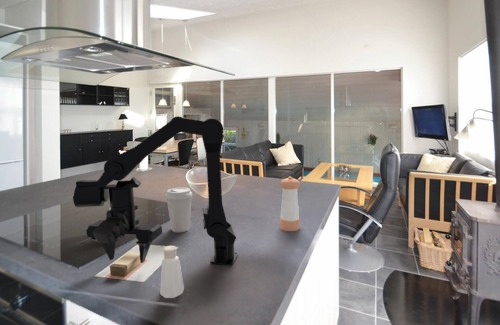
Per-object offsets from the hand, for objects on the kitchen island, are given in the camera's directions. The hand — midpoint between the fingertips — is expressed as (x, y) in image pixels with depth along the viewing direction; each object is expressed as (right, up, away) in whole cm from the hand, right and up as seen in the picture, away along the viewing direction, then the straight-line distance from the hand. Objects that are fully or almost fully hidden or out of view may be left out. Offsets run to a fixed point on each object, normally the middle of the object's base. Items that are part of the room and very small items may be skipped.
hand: (127, 260), depth 73 cm
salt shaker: (+47, +2, +28) cm, 55 cm away
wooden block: (0, -2, 0) cm, 2 cm away
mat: (+2, -2, +5) cm, 5 cm away
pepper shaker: (+15, -4, -10) cm, 18 cm away
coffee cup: (+7, +1, +27) cm, 28 cm away
